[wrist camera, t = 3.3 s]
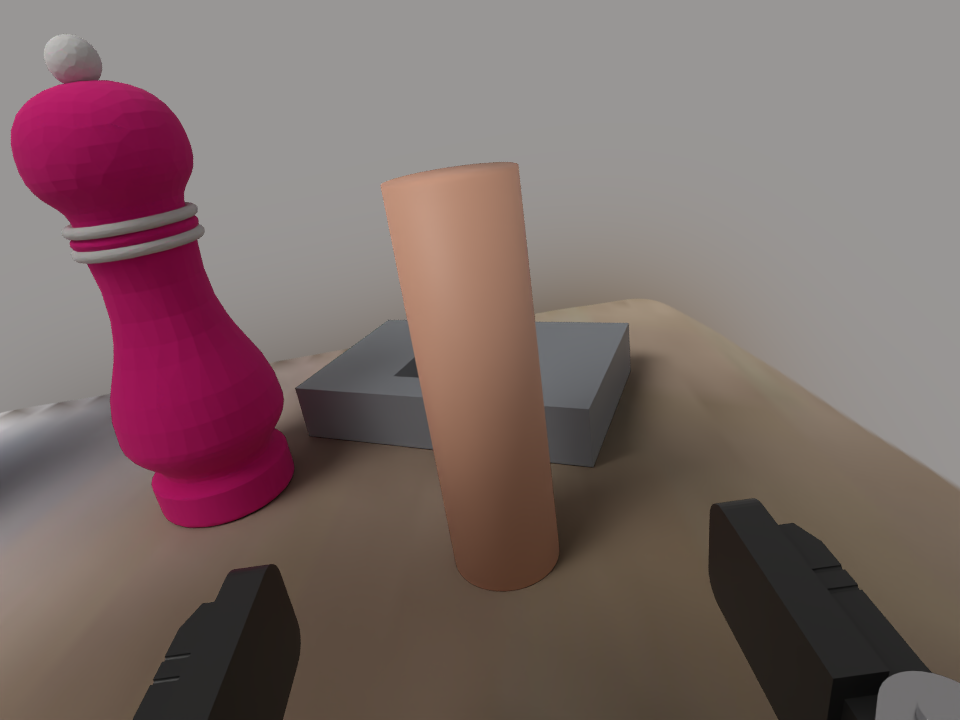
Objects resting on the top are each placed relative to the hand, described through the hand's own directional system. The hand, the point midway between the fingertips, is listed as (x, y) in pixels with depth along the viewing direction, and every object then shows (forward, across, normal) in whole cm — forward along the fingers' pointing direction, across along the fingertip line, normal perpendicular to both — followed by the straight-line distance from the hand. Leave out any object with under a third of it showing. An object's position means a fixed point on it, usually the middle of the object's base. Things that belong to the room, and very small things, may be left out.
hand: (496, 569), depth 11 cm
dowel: (+9, 0, +8) cm, 12 cm away
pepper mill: (+17, +13, +8) cm, 23 cm away
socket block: (+22, +1, +8) cm, 23 cm away
